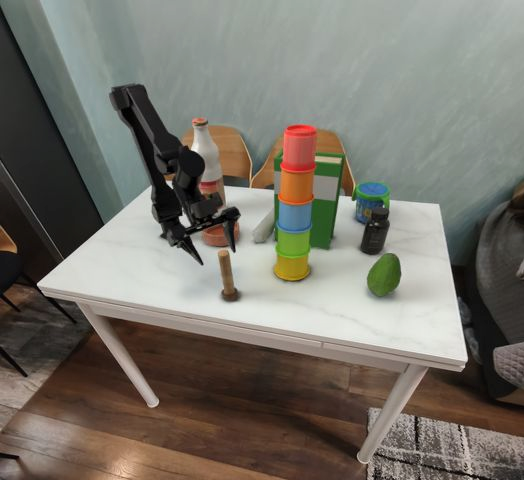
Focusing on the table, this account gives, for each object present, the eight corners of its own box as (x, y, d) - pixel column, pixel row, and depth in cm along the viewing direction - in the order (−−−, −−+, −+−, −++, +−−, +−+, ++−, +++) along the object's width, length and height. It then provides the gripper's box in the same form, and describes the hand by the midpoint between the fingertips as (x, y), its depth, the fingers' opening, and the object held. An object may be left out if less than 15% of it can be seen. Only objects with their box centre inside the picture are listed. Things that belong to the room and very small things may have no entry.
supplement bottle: (386, 247, 94) (398, 209, 85) (375, 257, 91) (386, 219, 82) (367, 240, 97) (376, 202, 88) (355, 249, 94) (363, 211, 85)
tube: (266, 235, 94) (295, 199, 108) (251, 227, 94) (282, 192, 108) (262, 248, 99) (291, 212, 112) (247, 240, 99) (278, 205, 113)
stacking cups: (268, 266, 91) (264, 127, 64) (299, 257, 93) (307, 119, 66) (283, 286, 85) (286, 141, 58) (315, 275, 87) (332, 132, 60)
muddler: (219, 298, 83) (210, 255, 72) (228, 289, 85) (221, 245, 74) (232, 303, 81) (225, 260, 71) (241, 293, 83) (236, 250, 73)
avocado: (375, 306, 78) (388, 266, 69) (357, 288, 83) (367, 249, 74) (400, 296, 80) (417, 257, 71) (382, 279, 85) (394, 240, 75)
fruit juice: (231, 211, 113) (220, 119, 91) (210, 219, 110) (193, 126, 88) (218, 202, 118) (205, 113, 96) (197, 210, 114) (178, 119, 93)
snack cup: (393, 225, 102) (402, 194, 94) (366, 233, 100) (374, 202, 92) (365, 205, 111) (372, 176, 103) (340, 212, 109) (345, 182, 101)
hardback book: (333, 237, 99) (345, 154, 81) (328, 249, 95) (340, 164, 76) (281, 229, 103) (282, 148, 85) (274, 240, 99) (273, 158, 81)
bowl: (196, 241, 101) (193, 230, 98) (217, 224, 107) (215, 213, 104) (226, 251, 97) (225, 239, 93) (246, 232, 103) (245, 221, 100)
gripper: (156, 193, 64) (189, 263, 66) (232, 170, 70) (261, 235, 72) (154, 215, 74) (184, 275, 77) (221, 193, 80) (246, 249, 83)
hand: (219, 258), depth 77 cm, fingers open, 9 cm apart
